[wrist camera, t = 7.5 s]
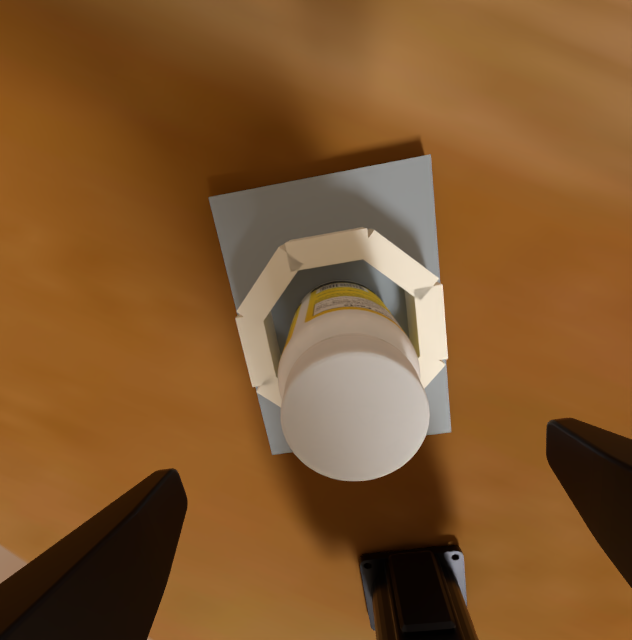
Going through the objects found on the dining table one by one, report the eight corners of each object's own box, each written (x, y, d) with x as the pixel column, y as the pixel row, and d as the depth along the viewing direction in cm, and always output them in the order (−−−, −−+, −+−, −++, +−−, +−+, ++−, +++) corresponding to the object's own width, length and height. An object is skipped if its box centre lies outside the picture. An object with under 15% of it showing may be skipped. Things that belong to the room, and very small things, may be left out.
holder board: (446, 423, 19) (465, 456, 17) (274, 446, 20) (266, 480, 17) (425, 157, 15) (446, 144, 13) (214, 198, 16) (191, 194, 14)
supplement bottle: (337, 386, 18) (345, 522, 10) (273, 323, 17) (226, 417, 9) (408, 327, 17) (482, 425, 9) (344, 257, 16) (362, 296, 8)
